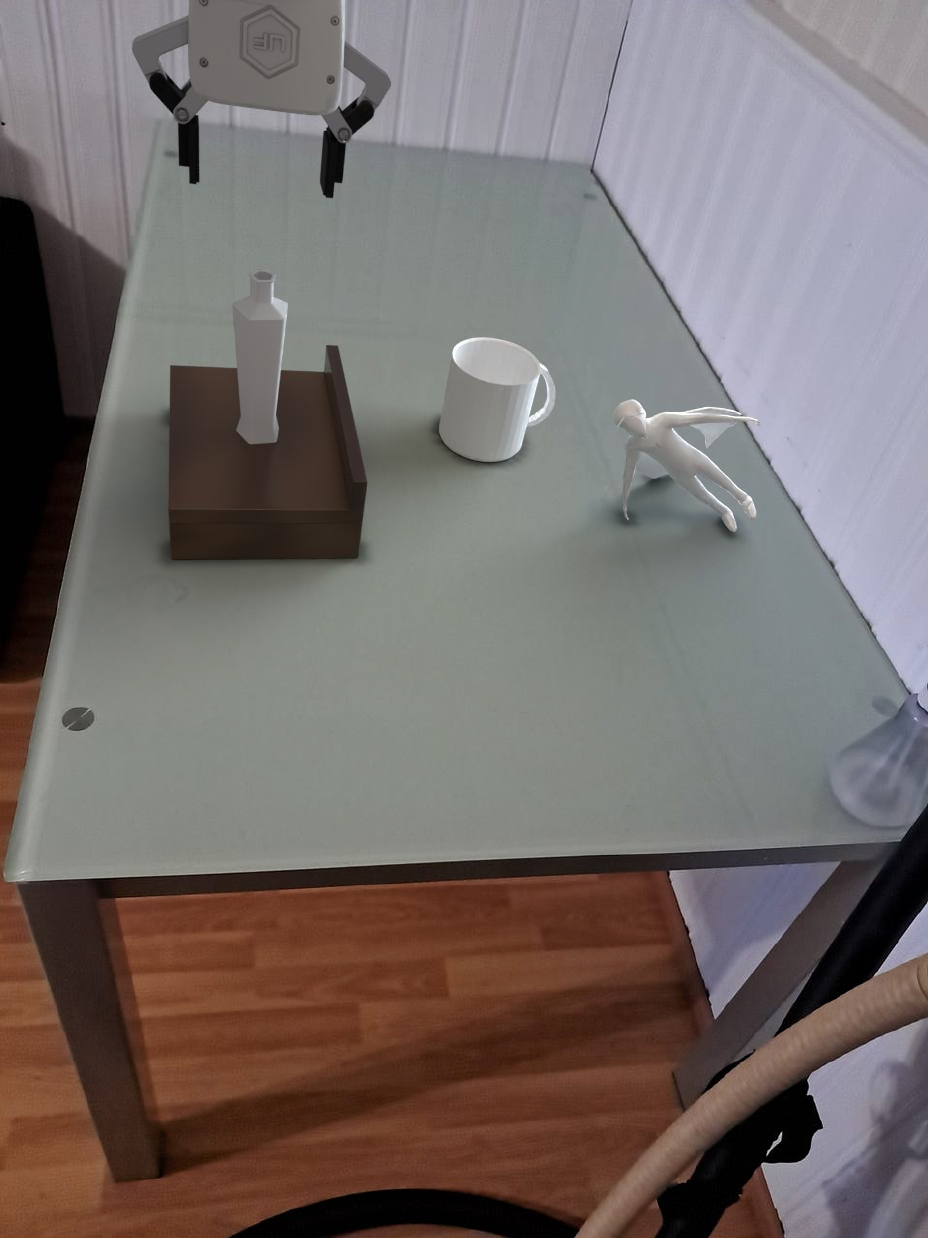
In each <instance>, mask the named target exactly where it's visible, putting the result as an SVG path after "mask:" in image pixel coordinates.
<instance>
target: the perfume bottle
mask: <svg viewBox="0 0 928 1238" xmlns="http://www.w3.org/2000/svg"><path fill="white" fill-rule="evenodd" d="M276 275H277V274H276V273H275V272H272V271H269V270H266V269H265V270H264V269H262V268H259V269H256V270H254V271H251V272H249V273H248V276H249V279H250V280H249V281H250V282H249V283H250V284H249V295H248V296H246V297H243V298H241V299H238V300H236V301H233V303H231V305H232V306H231V307H232V308H231V309H232V319H233V321H232V322H233V331H234V346H235V357H236V368H237V373H238V386H239V399H240V412H241V417H240V420H239V423H238V426H237V429H236V431H237V432H238V433H239V434H240V435H241V436H242V437H243V438H244V439H245V440H246V442H247V443H249V444H262V443H275V442H277V438H278V432H279V426H278V422H277V418H276V409H277V400H278V391H279V382H280V372H281V370H282V362H283V353H284V344H285V334H286V326H287V318H288V317H287V316H288V308H289V303H288V302H287V301H284V300H283V299H281V298H277V297H275V296H274V290H275V289H274V288H275V287H274V286H275V280H276Z"/></svg>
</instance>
